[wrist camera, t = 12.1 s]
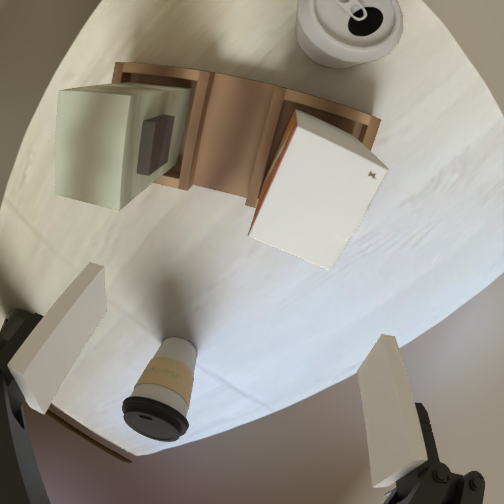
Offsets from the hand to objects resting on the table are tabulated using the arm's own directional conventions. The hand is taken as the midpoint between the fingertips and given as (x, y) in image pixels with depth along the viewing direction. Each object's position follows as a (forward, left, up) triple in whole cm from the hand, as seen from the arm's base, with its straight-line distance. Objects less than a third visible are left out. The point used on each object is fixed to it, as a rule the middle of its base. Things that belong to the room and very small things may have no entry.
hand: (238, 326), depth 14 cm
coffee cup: (-7, -30, -23) cm, 38 cm away
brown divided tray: (-5, +4, -22) cm, 23 cm away
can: (+2, +17, -23) cm, 28 cm away
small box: (+3, +4, -21) cm, 22 cm away
